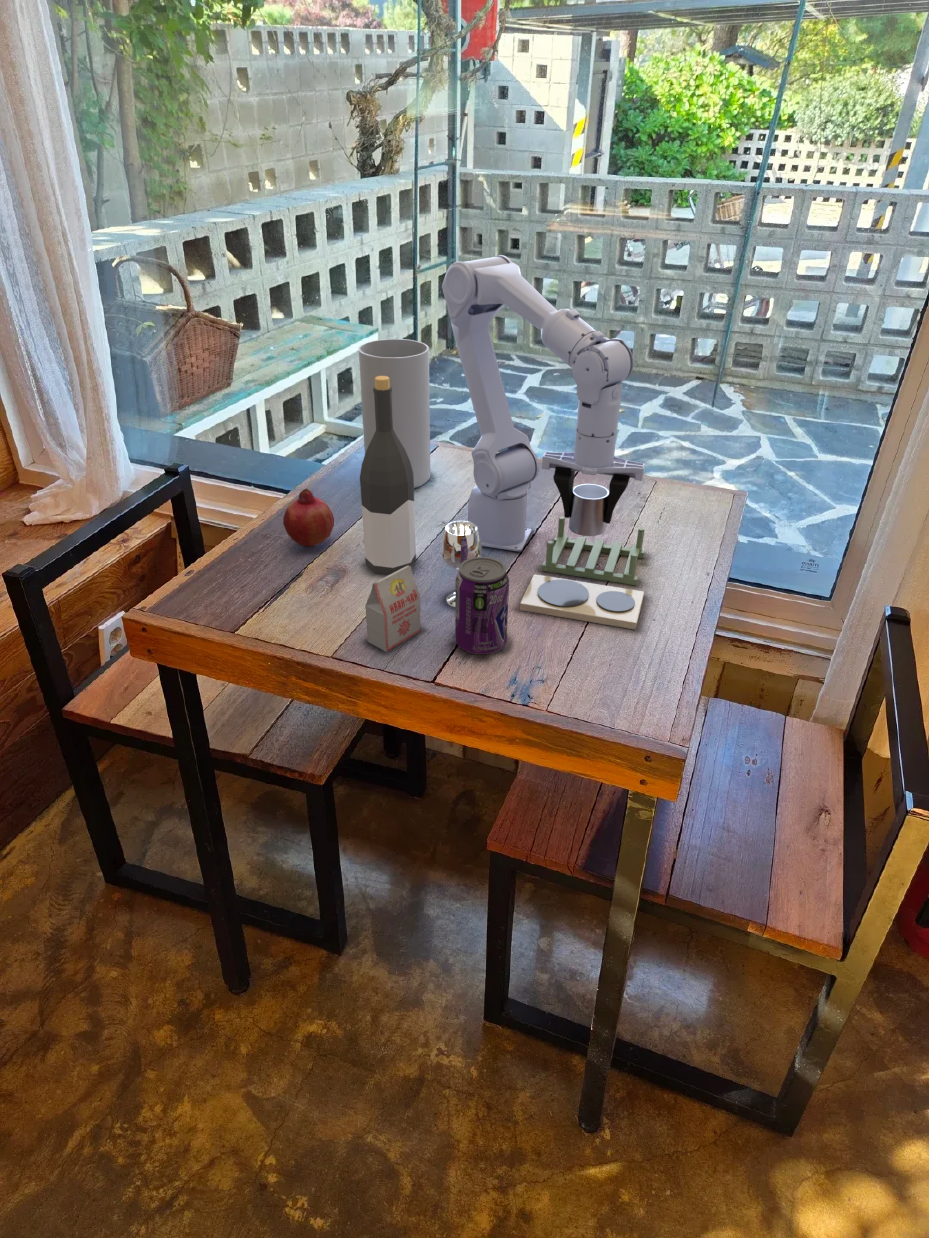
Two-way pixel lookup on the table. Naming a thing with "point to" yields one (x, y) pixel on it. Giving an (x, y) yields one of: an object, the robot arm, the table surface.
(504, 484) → the robot arm
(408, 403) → the cylinder vase
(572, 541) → the rack
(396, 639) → the tea bag
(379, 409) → the wine bottle
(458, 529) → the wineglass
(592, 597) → the hob
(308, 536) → the fruit
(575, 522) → the pot
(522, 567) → the table surface
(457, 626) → the beverage can
